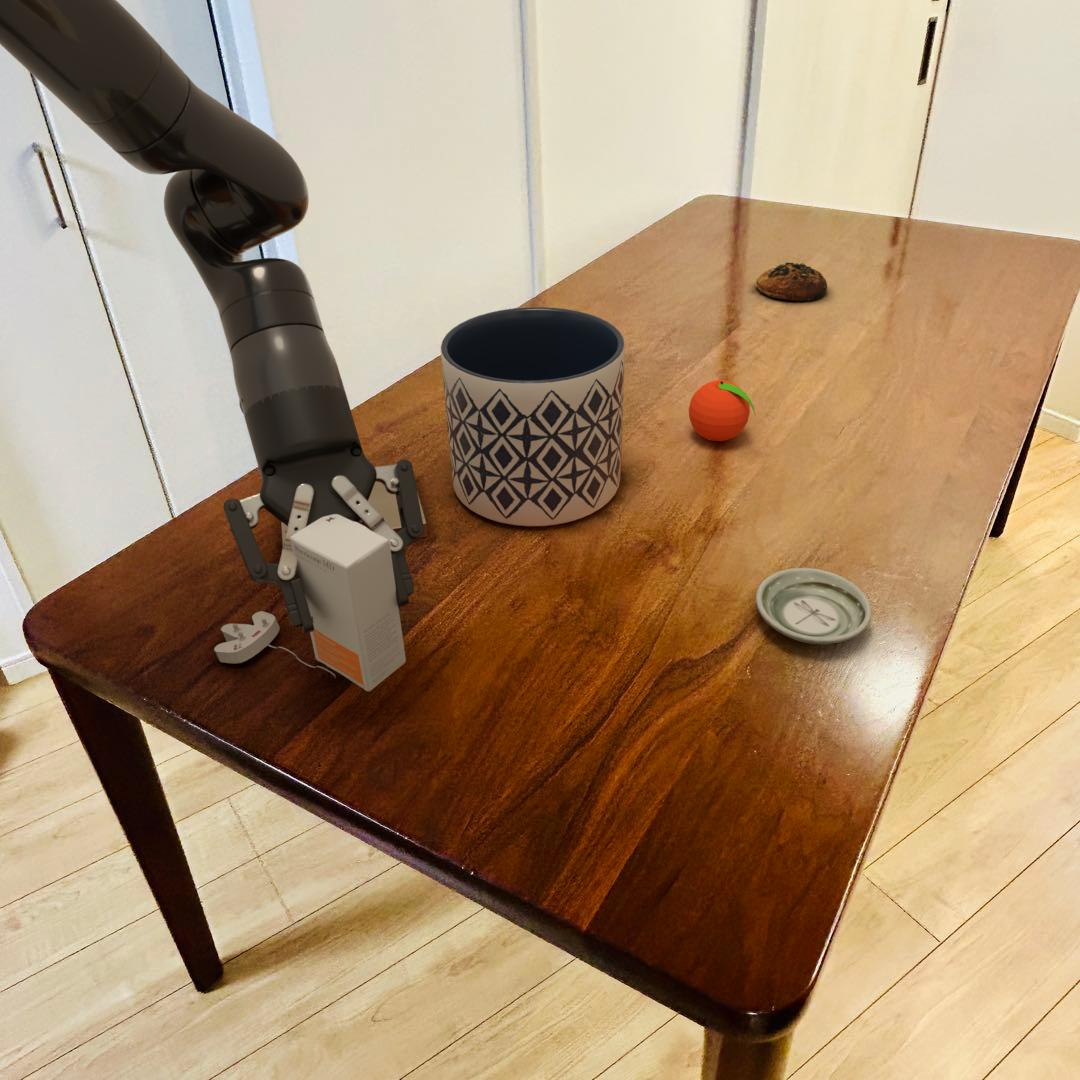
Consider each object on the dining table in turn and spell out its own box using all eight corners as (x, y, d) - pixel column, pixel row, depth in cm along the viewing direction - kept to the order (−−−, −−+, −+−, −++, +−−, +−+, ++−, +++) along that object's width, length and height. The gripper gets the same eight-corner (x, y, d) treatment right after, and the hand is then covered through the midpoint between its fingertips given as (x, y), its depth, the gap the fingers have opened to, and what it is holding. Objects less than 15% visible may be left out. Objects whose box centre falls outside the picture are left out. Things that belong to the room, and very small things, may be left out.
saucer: (731, 627, 79) (734, 606, 77) (786, 574, 84) (789, 553, 83) (835, 677, 73) (840, 656, 72) (885, 617, 79) (891, 596, 78)
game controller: (235, 621, 81) (229, 598, 79) (358, 634, 79) (354, 612, 78) (206, 665, 76) (198, 642, 75) (335, 680, 75) (331, 657, 73)
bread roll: (815, 306, 136) (816, 273, 133) (745, 303, 142) (744, 271, 139) (837, 286, 144) (838, 254, 141) (769, 284, 149) (769, 253, 147)
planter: (503, 551, 88) (495, 400, 79) (425, 469, 101) (409, 331, 91) (653, 496, 96) (662, 352, 86) (563, 426, 108) (562, 294, 99)
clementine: (765, 437, 105) (773, 381, 101) (735, 461, 101) (742, 404, 97) (705, 417, 109) (711, 363, 105) (674, 440, 105) (679, 384, 101)
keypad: (286, 561, 88) (279, 531, 86) (282, 501, 96) (275, 473, 94) (428, 536, 91) (424, 507, 89) (412, 480, 99) (408, 453, 97)
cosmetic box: (313, 661, 70) (285, 536, 63) (354, 631, 72) (332, 508, 65) (369, 695, 67) (346, 567, 60) (409, 663, 69) (391, 537, 62)
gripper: (189, 404, 61) (254, 642, 59) (394, 364, 65) (461, 584, 64) (198, 438, 68) (256, 651, 66) (383, 399, 72) (442, 598, 71)
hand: (357, 617), depth 65 cm, fingers closed on cosmetic box, 6 cm apart
